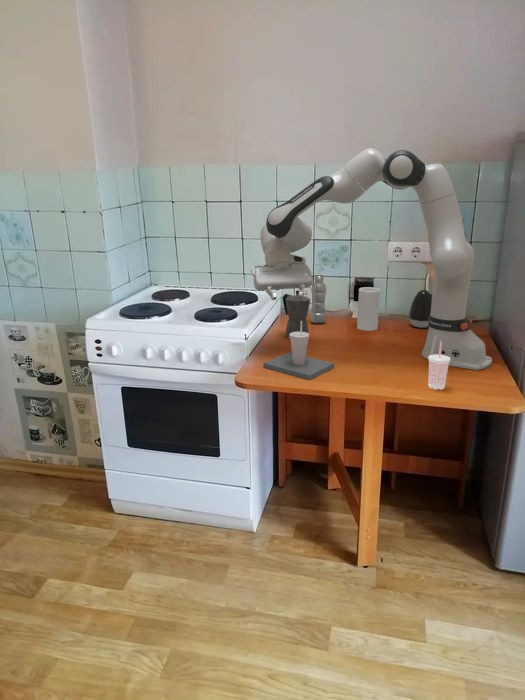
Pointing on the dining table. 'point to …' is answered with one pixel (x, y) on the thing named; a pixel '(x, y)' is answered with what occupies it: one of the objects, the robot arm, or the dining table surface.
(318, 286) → the plastic bottle
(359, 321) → the cup
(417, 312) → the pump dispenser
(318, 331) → the dining table surface
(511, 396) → the dining table surface
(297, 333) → the smoothie
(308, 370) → the slate board
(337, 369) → the dining table surface
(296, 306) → the coffeepot
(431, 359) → the beverage cup
